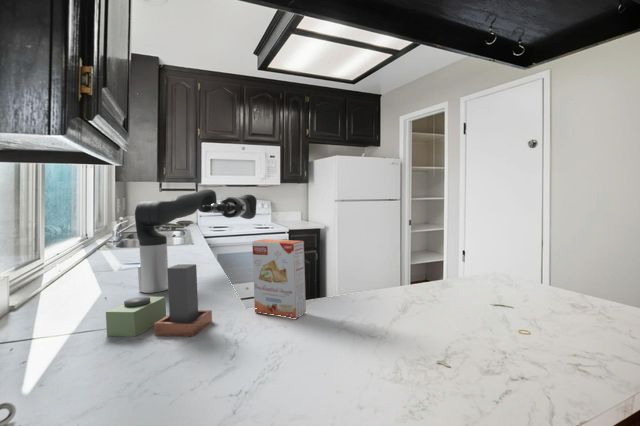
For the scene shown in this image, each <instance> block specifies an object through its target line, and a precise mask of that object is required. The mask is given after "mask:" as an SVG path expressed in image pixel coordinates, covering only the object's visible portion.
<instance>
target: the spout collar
mask: <svg viewBox="0 0 640 426" xmlns="http://www.w3.org/2000/svg"><path fill="white" fill-rule="evenodd" d="M212 322H213V311H212V310H210V309H209V310H206V309H205V310H204V309H198V318H197V319H195V320H194V321H192V322H170V316H169V314H166V317H164V318H162V319H161V320H159V321H157V322H156V323H154V326H153V327H154V336H158V337H159V336H160V337H161V336H164V337H195V336H196V335H197V334H198V333H200V332H201V331H202V330H203V329H205V328H206V327H207V326H208V325H210V324H211V323H212Z"/></svg>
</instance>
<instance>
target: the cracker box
mask: <svg viewBox="0 0 640 426" xmlns="http://www.w3.org/2000/svg"><path fill="white" fill-rule="evenodd" d="M251 244H252V265H253V266H252V267H253V268H252V270H253V297H254V298H253V299H254V313H255V312H261V313H267V314H274V315H281V316H286V317H291V318H297V317H299V316H300V315H302V314H304V313H305V312H307V311H306V310H307V307H306V304H307V303H306V301H307V300H306V274H305V271H306V269H305V268H306V267H305V265H306V264H305V241H304V240H293V239H292V240H289V239H271V238H270V239H269V238H263V239H256V240H253V241H252V243H251ZM255 308H257V309H255ZM305 314H306V313H305ZM305 314H304V315H305ZM302 316H303V315H302ZM300 317H301V316H300ZM300 317H299V318H300ZM297 319H298V318H297Z"/></svg>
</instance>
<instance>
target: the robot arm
mask: <svg viewBox="0 0 640 426" xmlns="http://www.w3.org/2000/svg"><path fill="white" fill-rule="evenodd" d="M257 204H258V203H257V197H255V196H254V195H252V194H244V195H241V196H237V197H233V196H227V197H225V198H223V199H221V200H220V201H219V202H218V203H217V193H216V192H215V190H212V189H208V188H207V189H201V190H198V191H196V192H192V193H188V194H181V195H177V196H175V197H172V199H171V200H167V201H166V200H165V201H163V200H149V201H148V200H147V201H140V202H139V203H137V204H136V206H135V209H134V221H135V229H136V238H137V240H138V245H139V246H138V247H139V265H137V274H138V275H137V276H138V291H139V292H142V293H144V294H146V293H147V294H150V293H151V294H152V293H158V292H159V293H160V292H163V291H167V290H168V273H167V268H169V260H168V242H167V241H168V240H167V236H166V235H165V234H162V233H160V232H158V231H157V230H156V229H155V227H162V226H165V225H167V224H169V223H171V222H172V221H175V220H177V219H181V218H184V217H188V216H191V215H193V214H195V213H196V212H197V211H199V212H201V213H208V214H209V213H212V214H221V215H222V216H224V217H225V218H227V219H231V218H238V217H240V218H243V219H246V220H251V219H254V218H255V217H256V214H257Z"/></svg>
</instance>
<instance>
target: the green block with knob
mask: <svg viewBox="0 0 640 426" xmlns="http://www.w3.org/2000/svg"><path fill="white" fill-rule="evenodd" d="M166 302H167V301H166V296H138V297H132V298H129V299H126V300H124V303H122V304H120V305H118V306H115V307H114V308H111V309H109V310H107V311H105V322H106V336H107V337H129V338H131V337H133V338H134V337H137V336H139V335H140V334H142V333H143V332H146V331H147V330H149V329H150V328H152V327H154V323H156V322H157V321H159V320H161V319H162V318H164V317H166V316H167V309H166V308H167V306H166Z"/></svg>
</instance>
